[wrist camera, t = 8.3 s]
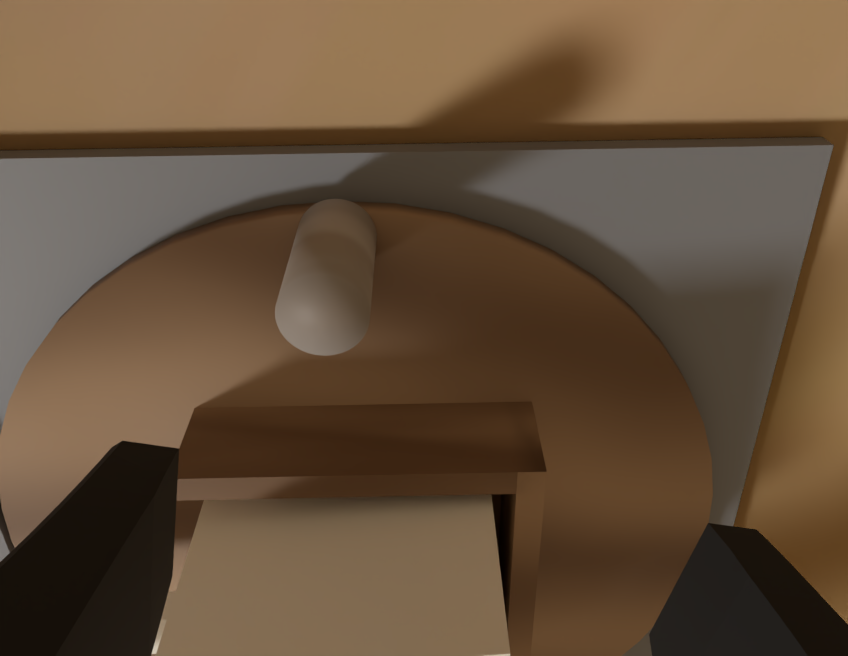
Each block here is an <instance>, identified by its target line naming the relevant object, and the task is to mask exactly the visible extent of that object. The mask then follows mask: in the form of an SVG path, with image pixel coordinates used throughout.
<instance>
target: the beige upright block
mask: <svg viewBox="0 0 848 656" xmlns="http://www.w3.org/2000/svg"><path fill="white" fill-rule="evenodd" d="M152 654H156V656H510V647H509V638H508V630H507V621H506V613H505V605H504V596H503V588H502V580H501V571H500V563H499V554H498V546H497V538H496V529H495V521H494V512H493V504H492V496H491V494H488V495H437V496H386V497H335V498H284V499H233V500H204V502H203V505H202V508H201V511H200V514H199V518H198V521H197V524H196V527H195V531H194V534H193V537H192V540H191V543H190V547H189V550H188V553H187V556H186V560H185V563H184V566H183V569H182V572H181V576H180V579H179V582H178V585H177V589H176V591H172V592H168V595H167V599H166V603H165V606H164V610H163V614H162V618H161V621H160V625H159V629H158V632H157V636H156V640H155V643H154V647H153V651H152Z"/></svg>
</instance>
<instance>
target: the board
mask: <svg viewBox="0 0 848 656" xmlns="http://www.w3.org/2000/svg"><path fill="white" fill-rule="evenodd" d="M832 149H833V144H831V143H830V142H829V141H827V140H826V139H825V138H823V137H798V138H737V139H676V140H614V141H553V142H492V143H431V144H370V145H308V146H247V147H186V148H125V149H64V150H3V151H0V434H1V430H2V426H3V422H4V418H5V414H6V410H7V406H8V402H9V400H10V398H11V395H12V393H13V391H14V389H15V387H16V385H17V383H18V381H19V378H20V376H21V374H22V372H23V370H24V368H25V366H26V364H27V363H28V361H29V360H30V359H31V357H32V356H33V354H34V353H35V352H36V350H37V349H38V347H39V346H40V345H41V343H42V342H43V340H44V339H45V338H46V336H47V335H48V333H49V332H50V331H51V329H52V328H53V327H54V325H55V324H56V322H57V321H58V320H59V318H60V317H61V316H62V315H63V314H64V313H65V312H66V311H67V310H68V309H69V308H70V307H71V306H72V305H73V304H74V303H75V302H76V301H77V300H78V299H79V298H80V297H81V296H82V295H83V294H84V293H85V292H86V291H87V290H88V289H89V288H90V287H91V286H92V285H93V284H95V283H96V282H98V281H99V280H100V279H102V278H103V277H105V276H106V275H107V274H109V273H110V272H112V271H113V270H114V269H116V268H117V267H119V266H120V265H121V264H123V263H124V262H126V261H127V260H128V259H130V258H131V257H133V256H135V255H137V254H139V253H141V252H143V251H145V250H147V249H149V248H151V247H153V246H155V245H157V244H158V243H160V242H162V241H164V240H166V239H168V238H170V237H172V236H174V235H176V234H179V233H182V232H185V231H187V230H190V229H193V228H196V227H199V226H202V225H205V224H208V223H210V222H213V221H216V220H219V219H222V218H225V217H228V216H233V215H238V214H243V213H247V212H252V211H257V210H262V209H267V208H271V207H276V206H281V205H293V204H306V203H318V202H320V201H323V200H327V199H344V200H348V201H351V202H374V203H396V204H402V205H408V206H414V207H420V208H426V209H432V210H438V211H444V212H450V213H454V214H457V215H460V216H464V217H467V218H470V219H474V220H477V221H481V222H484V223H487V224H491V225H494V226H497V227H501V228H504V229H506V230H508V231H511V232H513V233H515V234H518V235H520V236H522V237H524V238H527V239H529V240H531V241H533V242H536V243H538V244H540V245H542V246H545V247H547V248H549V249H551V250H553V251H555V252H556V253H558V254H560V255H561V256H563V257H565V258H566V259H568V260H569V261H571V262H573V263H574V264H576V265H578V266H579V267H581V268H583V269H584V270H586V271H587V272H589V273H591V274H592V275H594V276H595V277H597V278H598V279H599V280H600V281H601V282H603V283H604V284H605V285H606V286H607V287H609V288H610V289H611V290H612V291H613V292H615V293H616V294H617V295H618V296H619V297H621V298H622V299H623V300H624V301H625V302H627V303H628V304H629V305H630V306H631V307H632V308H633V309H634V310H635V311H636V312H637V314H638V315H639V316H640V317H641V318H642V319H643V320H644V321H645V323H646V324H647V325H648V326H649V327H650V328H651V329H652V330H653V332H654V333H655V334H656V335H657V336H658V337H659V338H660V340H661V341H662V343H663V344H664V346H665V348H666V349H667V351H668V352H669V354H670V355H671V357H672V359H673V360H674V362H675V363H676V365H677V367H678V368H679V370H680V371H681V373H682V375H683V377H684V379H685V381H686V383H687V385H688V387H689V389H690V391H691V394H692V396H693V399H694V401H695V403H696V406H697V408H698V411H699V413H700V415H701V418H702V420H703V423H704V426H705V431H706V435H707V440H708V445H709V449H710V454H711V459H712V484H713V497H712V504H711V510H710V517H709V523H713V524H720V525H727V526H733V525H734V522H735V518H736V514H737V510H738V506H739V503H740V499H741V495H742V491H743V487H744V484H745V480H746V476H747V472H748V468H749V465H750V461H751V457H752V453H753V449H754V446H755V442H756V438H757V434H758V430H759V427H760V423H761V419H762V415H763V411H764V408H765V404H766V400H767V396H768V392H769V389H770V385H771V381H772V377H773V373H774V370H775V366H776V362H777V358H778V354H779V351H780V347H781V343H782V339H783V335H784V332H785V328H786V324H787V320H788V316H789V313H790V309H791V305H792V301H793V297H794V294H795V290H796V286H797V282H798V278H799V275H800V271H801V267H802V263H803V259H804V256H805V252H806V248H807V244H808V240H809V237H810V233H811V229H812V225H813V221H814V218H815V214H816V210H817V206H818V202H819V199H820V195H821V191H822V187H823V183H824V180H825V176H826V172H827V168H828V164H829V161H830V157H831V153H832ZM14 548H15V547H14V545H13V543H12V541H11V538H10V534H9V531H8V528H7V525H6V521H5V518H4V515H3V512H2V508H1V500H0V562H1V561H2V560H3V559H4V558H5V557H6V556H7V555H8V554H9V553H10V552H11V551H12V550H13V549H14ZM652 628H653V627H652ZM652 628H651V629H650V630H649V632H648V633H647V634H646V635H645V636H644V637H643V638H642V639H641V640H640V641H639V642H638V643H637V644H635V645H634V646H633V647H632V648H631V649H629V650H628V651H627V652H626V653H625V654H623V655H622V656H652V652H651V645H650V638H649V634H650V632H651V630H652Z"/></svg>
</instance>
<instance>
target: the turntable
mask: <svg viewBox="0 0 848 656" xmlns="http://www.w3.org/2000/svg"><path fill="white" fill-rule="evenodd" d="M121 441H129V442H136V443H143V444H150V445H158V446H165V447H172V448H179V462H178V481H177V500H176V520H175V539H174V558H173V576H172V580H171V584H170V587H169V591H168V592H172V591H176V589H177V585H178V582H179V579H180V576H181V572H182V569H183V566H184V563H185V560H186V556H187V553H188V550H189V547H190V543H191V540H192V537H193V534H194V531H195V527H196V524H197V521H198V518H199V514H200V511H201V508H202V505H203V502H204V500H233V499H284V498H335V497H386V496H437V495H488V494H491V496H492V504H493V512H494V521H495V529H496V538H497V546H498V554H499V563H500V571H501V580H502V588H503V596H504V605H505V613H506V621H507V630H508V638H509V647H510V656H622V655H623V654H625V653H626V652H627V651H628V650H629V649H631V648H632V647H633V646H634V645H635V644H637V643H638V642H639V641H640V640H641V639H642V638H643V637H644V636H645V635H646V634H647V633H648V632H649V630H650V629H651V628H652V627H653V626H654V624H655V622H656V620H657V618H658V617H659V615H660V613H661V611H662V609H663V607H664V605H665V603H666V601H667V600H668V598H669V596H670V594H671V592H672V590H673V588H674V586H675V584H676V583H677V581H678V579H679V577H680V575H681V573H682V571H683V569H684V567H685V566H686V564H687V562H688V560H689V558H690V556H691V554H692V552H693V550H694V549H695V547H696V545H697V543H698V541H699V539H700V537H701V535H702V534H703V532H704V530H705V528H706V526H707V524H708V523H709V517H710V510H711V504H712V497H713V484H712V459H711V454H710V449H709V445H708V440H707V435H706V431H705V426H704V423H703V420H702V418H701V415H700V413H699V411H698V408H697V406H696V403H695V401H694V399H693V396H692V394H691V391H690V389H689V387H688V385H687V383H686V381H685V379H684V377H683V375H682V373H681V371H680V370H679V368H678V367H677V365H676V363H675V362H674V360H673V359H672V357H671V355H670V354H669V352H668V351H667V349H666V348H665V346H664V344H663V343H662V341H661V340H660V338H659V337H658V336H657V335H656V334H655V333H654V332H653V330H652V329H651V328H650V327H649V326H648V325H647V324H646V323H645V321H644V320H643V319H642V318H641V317H640V316H639V315H638V314H637V312H636V311H635V310H634V309H633V308H632V307H631V306H630V305H629V304H628V303H627V302H625V301H624V300H623V299H622V298H621V297H619V296H618V295H617V294H616V293H615V292H613V291H612V290H611V289H610V288H609V287H607V286H606V285H605V284H604V283H603V282H601V281H600V280H599V279H598V278H597V277H595V276H594V275H592V274H591V273H589V272H587V271H586V270H584V269H583V268H581V267H579V266H578V265H576V264H574V263H573V262H571V261H569V260H568V259H566V258H565V257H563V256H561V255H560V254H558V253H556V252H555V251H553V250H551V249H549V248H547V247H545V246H542V245H540V244H538V243H536V242H533V241H531V240H529V239H527V238H524V237H522V236H520V235H518V234H515V233H513V232H511V231H508V230H506V229H504V228H501V227H497V226H494V225H491V224H487V223H484V222H481V221H477V220H474V219H470V218H467V217H464V216H460V215H457V214H454V213H450V212H444V211H438V210H432V209H426V208H420V207H414V206H408V205H402V204H396V203H374V202H351V201H348V200H344V199H327V200H323V201H320V202H318V203H306V204H293V205H281V206H276V207H271V208H267V209H262V210H257V211H252V212H247V213H243V214H238V215H233V216H228V217H225V218H222V219H219V220H216V221H213V222H210V223H208V224H205V225H202V226H199V227H196V228H193V229H190V230H187V231H185V232H182V233H179V234H176V235H174V236H172V237H170V238H168V239H166V240H164V241H162V242H160V243H158V244H157V245H155V246H153V247H151V248H149V249H147V250H145V251H143V252H141V253H139V254H137V255H135V256H133V257H131V258H130V259H128V260H127V261H126V262H124V263H123V264H121V265H120V266H119V267H117V268H116V269H114V270H113V271H112V272H110V273H109V274H107V275H106V276H105V277H103V278H102V279H100V280H99V281H98V282H96V283H95V284H93V285H92V286H91V287H90V288H89V289H88V290H87V291H86V292H85V293H84V294H83V295H82V296H81V297H80V298H79V299H78V300H77V301H76V302H75V303H74V304H73V305H72V306H71V307H70V308H69V309H68V310H67V311H66V312H65V313H64V314H63V315H62V316H61V317H60V318H59V320H58V321H57V322H56V324H55V325H54V327H53V328H52V329H51V331H50V332H49V333H48V335H47V336H46V338H45V339H44V340H43V342H42V343H41V345H40V346H39V347H38V349H37V350H36V352H35V353H34V354H33V356H32V357H31V359H30V360H29V361H28V363H27V364H26V366H25V368H24V370H23V372H22V374H21V376H20V378H19V381H18V383H17V385H16V387H15V389H14V391H13V393H12V395H11V398H10V400H9V402H8V406H7V410H6V414H5V418H4V422H3V426H2V430H1V434H0V500H1V508H2V512H3V515H4V518H5V521H6V525H7V528H8V531H9V534H10V538H11V541H12V543H13V545H14V547H16V546H17V545H19V544H20V543H21V542H22V541H23V540H24V539H25V538H26V537H27V536H28V535H29V534H30V533H31V532H32V531H33V530H34V529H35V528H36V527H37V526H38V525H39V524H40V523H41V522H42V521H43V520H44V519H45V518H46V517H47V516H48V515H49V514H50V513H51V512H52V511H53V510H54V509H55V508H56V507H57V506H58V505H59V504H60V503H61V502H62V501H63V500H64V499H65V498H66V496H67V495H68V494H69V493H70V492H71V491H72V490H73V489H74V488H75V487H76V486H77V485H78V484H79V483H80V482H81V481H82V480H83V478H84V477H85V476H86V475H87V474H88V473H89V472H90V471H91V470H92V469H93V468H94V467H95V465H96V464H97V463H98V462H99V461H100V460H101V459H102V458H103V457H104V455H105V454H106V453H107V452H108V451H109V450H110V449H111V448H112V447H113V446H115V445H116V444H118V443H119V442H121ZM151 656H156V654H151Z"/></svg>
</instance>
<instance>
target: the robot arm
mask: <svg viewBox="0 0 848 656" xmlns="http://www.w3.org/2000/svg"><path fill="white" fill-rule="evenodd" d="M178 462H179V448H172V447H165V446H158V445H150V444H143V443H136V442H129V441H121V442H119V443H118V444H116V445H115V446H113V447H112V448H111V449H110V450H109V451H108V452H107V453H106V454H105V455H104V457H103V458H102V459H101V460H100V461H99V462H98V463H97V464H96V465H95V467H94V468H93V469H92V470H91V471H90V472H89V473H88V474H87V475H86V476H85V477H84V478H83V480H82V481H81V482H80V483H79V484H78V485H77V486H76V487H75V488H74V489H73V490H72V491H71V492H70V493H69V494H68V495H67V496H66V498H65V499H64V500H63V501H62V502H61V503H60V504H59V505H58V506H57V507H56V508H55V509H54V510H53V511H52V512H51V513H50V514H49V515H48V516H47V517H46V518H45V519H44V520H43V521H42V522H41V523H40V524H39V525H38V526H37V527H36V528H35V529H34V530H33V531H32V532H31V533H30V534H29V535H28V536H27V537H26V538H25V539H24V540H23V541H22V542H21V543H20V544H19V545H17V546H16V547H15V548H14V549H13V550H12V551H11V552H10V553H9V554H8V555H7V556H6V557H5V558H4V559H3V560H2V561H1V562H0V656H151V654H152V651H153V647H154V643H155V640H156V636H157V632H158V629H159V625H160V621H161V618H162V614H163V610H164V606H165V603H166V599H167V595H168V591H169V587H170V584H171V580H172V576H173V558H174V539H175V520H176V500H177V481H178ZM649 638H650V645H651V652H652V656H848V625H847V623H846V622H845V621H844V620H843V619H842V618H841V617H840V616H839V615H838V614H837V613H836V612H835V611H834V610H833V608H832V607H831V606H830V605H829V604H828V603H827V602H826V601H825V600H824V599H823V598H822V597H821V596H820V595H819V593H818V592H817V591H816V590H815V589H814V588H813V587H812V586H811V585H810V584H809V583H808V582H807V581H806V580H805V579H804V577H803V576H802V575H801V574H800V573H799V572H798V571H797V570H796V569H795V568H794V567H793V566H792V565H791V564H790V563H789V562H788V561H787V560H786V559H785V557H784V556H783V555H782V554H781V553H780V552H779V551H778V550H777V549H776V548H775V547H774V546H773V545H772V544H771V543H770V542H769V541H768V540H767V539H766V538H765V537H764V536H763V535H761V534H760V533H759V532H758V531H757V530H755V529H748V528H741V527H734V526H727V525H720V524H713V523H708V524H707V526H706V528H705V530H704V532H703V534H702V535H701V537H700V539H699V541H698V543H697V545H696V547H695V549H694V550H693V552H692V554H691V556H690V558H689V560H688V562H687V564H686V566H685V567H684V569H683V571H682V573H681V575H680V577H679V579H678V581H677V583H676V584H675V586H674V588H673V590H672V592H671V594H670V596H669V598H668V600H667V601H666V603H665V605H664V607H663V609H662V611H661V613H660V615H659V617H658V618H657V620H656V622H655V624H654V626H653V628H652V630H651V632H650V634H649Z"/></svg>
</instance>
